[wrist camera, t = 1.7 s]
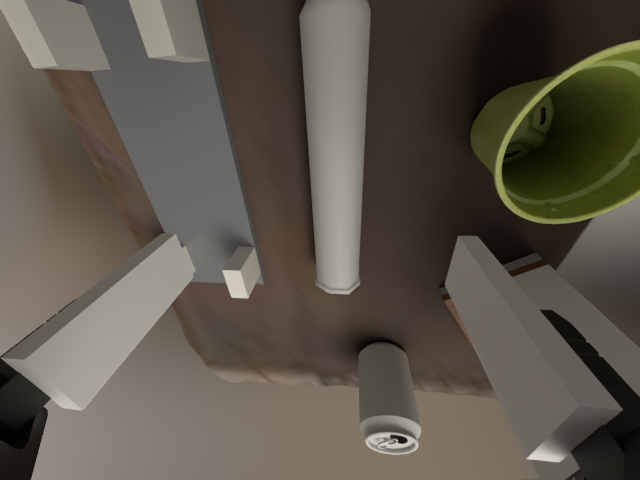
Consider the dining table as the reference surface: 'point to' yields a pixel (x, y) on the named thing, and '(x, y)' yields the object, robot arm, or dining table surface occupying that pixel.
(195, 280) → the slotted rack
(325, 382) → the dining table surface
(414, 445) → the can
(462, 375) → the dining table surface
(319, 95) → the tube
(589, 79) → the plant pot
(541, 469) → the brown-trimmed grey box
